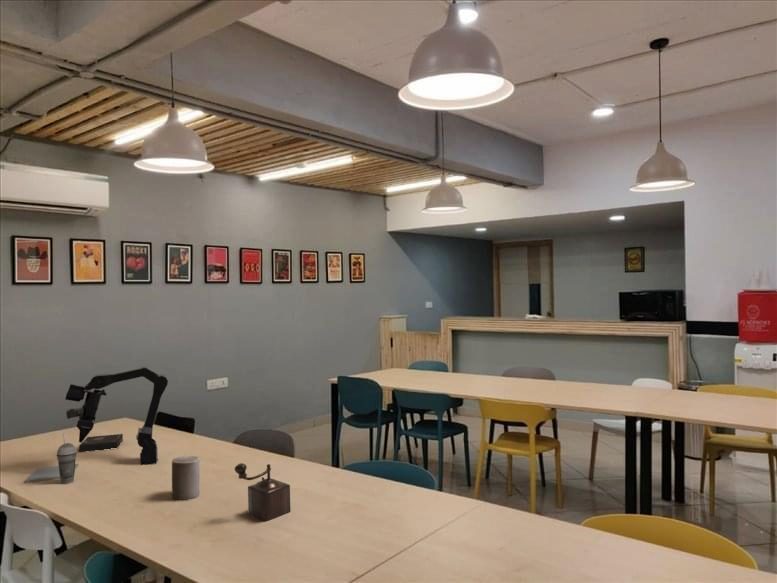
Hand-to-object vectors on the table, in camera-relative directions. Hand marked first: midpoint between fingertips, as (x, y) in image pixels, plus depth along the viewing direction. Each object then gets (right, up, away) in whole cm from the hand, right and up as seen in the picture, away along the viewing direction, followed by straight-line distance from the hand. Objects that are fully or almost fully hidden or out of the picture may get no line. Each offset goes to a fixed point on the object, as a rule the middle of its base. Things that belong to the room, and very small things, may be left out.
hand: (81, 439), depth 232 cm
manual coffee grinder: (+90, -11, -51) cm, 104 cm away
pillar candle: (+57, -12, -32) cm, 66 cm away
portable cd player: (-13, -15, +41) cm, 46 cm away
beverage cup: (+2, -14, -13) cm, 19 cm away
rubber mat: (-12, -14, -1) cm, 18 cm away
